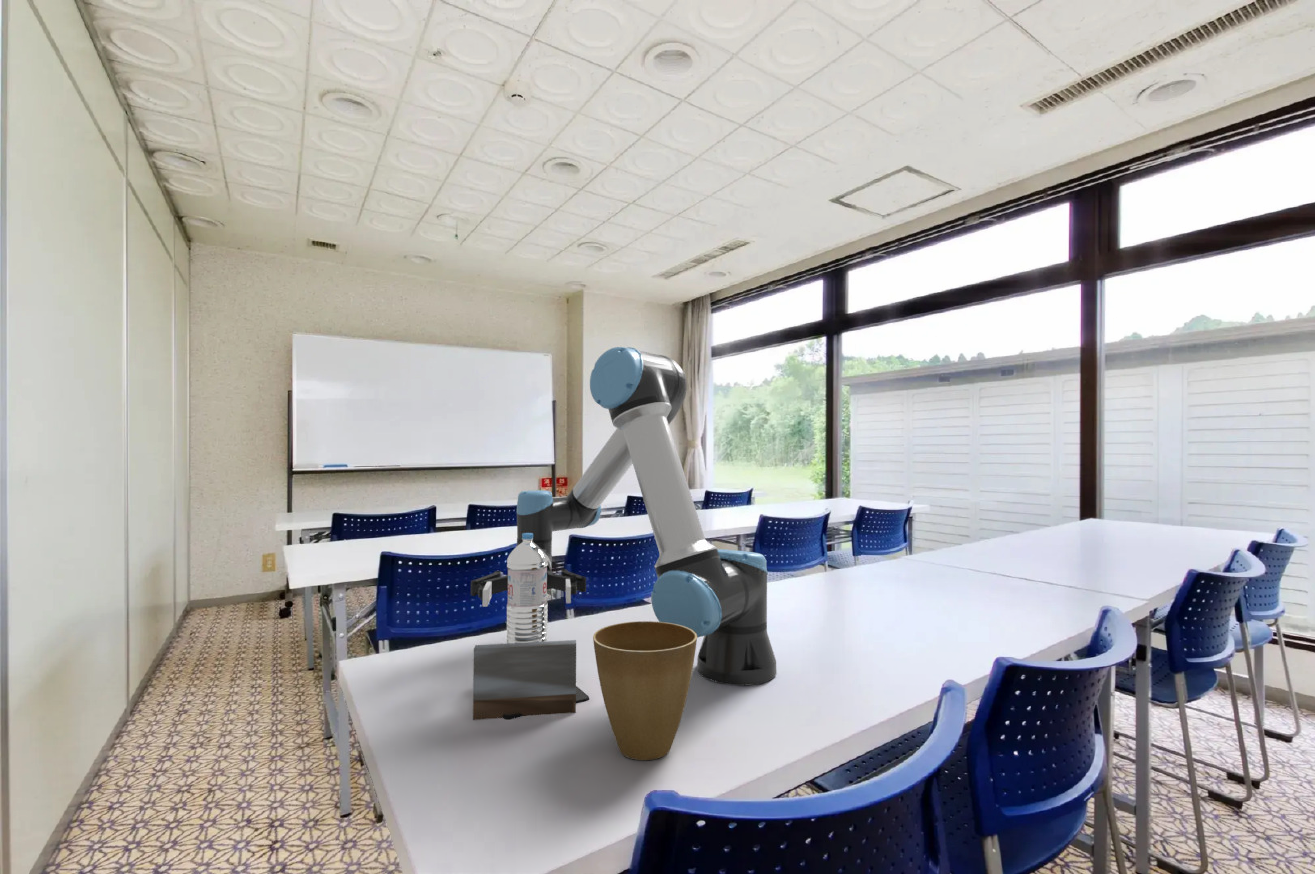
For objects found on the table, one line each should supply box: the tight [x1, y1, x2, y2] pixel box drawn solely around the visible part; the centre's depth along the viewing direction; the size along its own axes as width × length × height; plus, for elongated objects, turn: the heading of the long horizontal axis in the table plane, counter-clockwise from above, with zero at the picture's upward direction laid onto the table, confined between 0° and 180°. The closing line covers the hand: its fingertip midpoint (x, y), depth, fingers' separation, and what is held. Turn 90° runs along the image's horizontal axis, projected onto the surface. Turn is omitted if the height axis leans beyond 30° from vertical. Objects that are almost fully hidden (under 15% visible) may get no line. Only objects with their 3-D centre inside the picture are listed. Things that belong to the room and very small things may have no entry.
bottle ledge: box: [472, 639, 577, 721], centre depth 100 cm, size 14×16×11 cm
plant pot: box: [592, 620, 698, 761], centre depth 84 cm, size 15×15×16 cm
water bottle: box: [506, 533, 549, 644], centre depth 100 cm, size 7×7×25 cm
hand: (527, 596), depth 97 cm, fingers open, 13 cm apart
